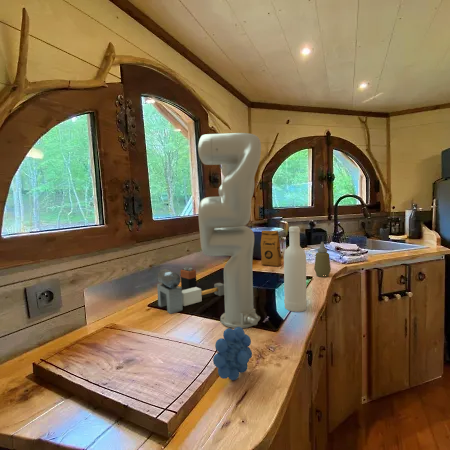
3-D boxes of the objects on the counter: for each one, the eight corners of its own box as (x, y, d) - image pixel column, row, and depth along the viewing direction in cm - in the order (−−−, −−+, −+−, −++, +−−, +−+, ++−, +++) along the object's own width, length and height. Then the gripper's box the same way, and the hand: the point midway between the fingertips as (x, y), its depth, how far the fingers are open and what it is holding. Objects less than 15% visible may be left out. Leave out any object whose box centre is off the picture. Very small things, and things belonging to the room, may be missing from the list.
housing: (183, 310, 99) (181, 272, 98) (169, 314, 95) (167, 275, 94) (170, 302, 108) (168, 267, 107) (157, 305, 104) (155, 269, 103)
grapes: (230, 403, 51) (228, 343, 50) (207, 387, 56) (205, 332, 55) (265, 374, 60) (264, 322, 59) (242, 362, 64) (241, 315, 63)
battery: (189, 291, 120) (188, 269, 120) (180, 288, 125) (179, 267, 125) (197, 289, 123) (196, 268, 123) (188, 286, 128) (187, 266, 128)
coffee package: (277, 267, 160) (276, 231, 158) (259, 265, 167) (258, 231, 165) (283, 264, 168) (283, 230, 166) (265, 262, 175) (265, 229, 173)
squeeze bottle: (313, 277, 136) (313, 242, 135) (314, 273, 144) (314, 240, 143) (330, 278, 133) (330, 243, 132) (330, 274, 141) (330, 240, 139)
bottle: (287, 302, 103) (285, 225, 100) (308, 305, 99) (307, 225, 97) (282, 310, 95) (280, 227, 93) (304, 313, 92) (303, 227, 90)
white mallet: (225, 294, 115) (225, 283, 114) (184, 306, 103) (183, 293, 102) (220, 292, 118) (219, 281, 118) (179, 303, 106) (178, 291, 106)
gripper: (223, 212, 110) (225, 256, 112) (251, 211, 119) (252, 251, 121) (213, 212, 116) (215, 254, 118) (240, 211, 125) (241, 249, 127)
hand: (233, 252), depth 119 cm, fingers closed
